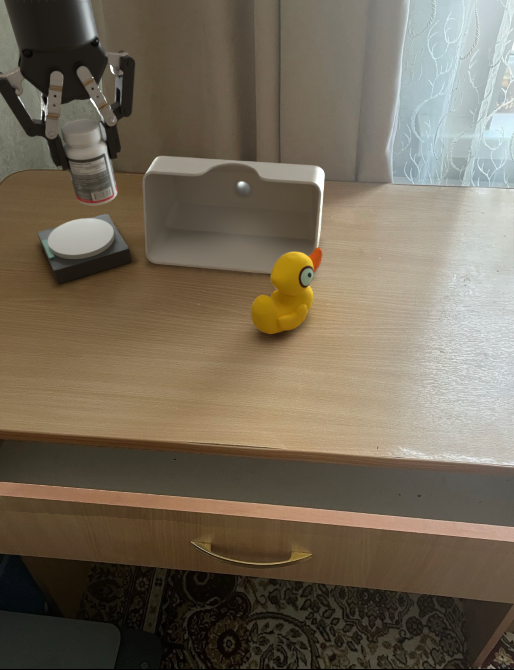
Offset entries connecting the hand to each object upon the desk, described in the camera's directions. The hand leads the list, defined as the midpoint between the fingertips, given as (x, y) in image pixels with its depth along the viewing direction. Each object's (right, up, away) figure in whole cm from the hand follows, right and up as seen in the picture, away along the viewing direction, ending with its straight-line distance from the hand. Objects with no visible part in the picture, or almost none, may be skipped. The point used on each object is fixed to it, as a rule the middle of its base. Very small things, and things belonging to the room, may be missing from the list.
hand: (88, 160), depth 61 cm
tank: (+16, -5, +25) cm, 30 cm away
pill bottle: (0, -3, +3) cm, 5 cm away
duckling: (+23, -18, +11) cm, 31 cm away
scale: (-7, -7, +23) cm, 25 cm away
